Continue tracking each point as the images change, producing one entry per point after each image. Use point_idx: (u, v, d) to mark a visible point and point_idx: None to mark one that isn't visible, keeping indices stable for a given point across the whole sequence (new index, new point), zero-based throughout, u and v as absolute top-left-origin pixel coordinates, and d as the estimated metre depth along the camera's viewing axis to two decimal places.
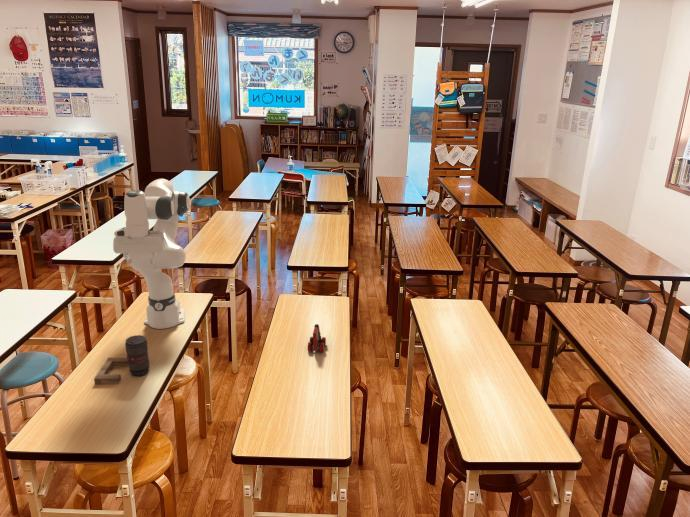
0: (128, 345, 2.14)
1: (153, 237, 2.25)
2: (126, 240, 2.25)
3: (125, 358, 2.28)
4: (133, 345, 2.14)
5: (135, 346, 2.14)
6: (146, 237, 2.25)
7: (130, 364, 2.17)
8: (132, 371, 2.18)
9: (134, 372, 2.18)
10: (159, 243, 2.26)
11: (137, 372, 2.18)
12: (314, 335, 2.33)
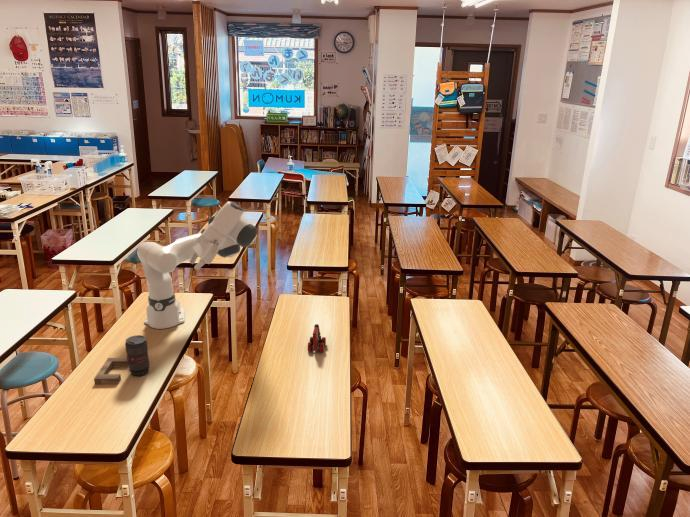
0: (128, 345, 2.14)
1: (210, 244, 2.13)
2: (202, 240, 2.22)
3: (125, 358, 2.28)
4: (133, 345, 2.14)
5: (135, 346, 2.14)
6: (208, 242, 2.15)
7: (130, 364, 2.17)
8: (132, 371, 2.18)
9: (134, 372, 2.18)
10: (208, 250, 2.11)
11: (137, 372, 2.18)
12: (314, 335, 2.33)
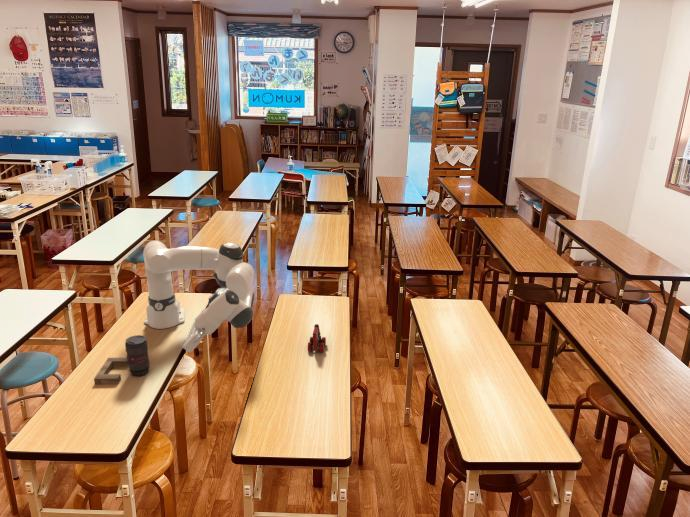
0: (128, 345, 2.14)
1: (195, 332, 2.10)
2: None
3: (125, 358, 2.28)
4: (133, 345, 2.14)
5: (135, 346, 2.14)
6: (196, 329, 2.13)
7: (130, 364, 2.17)
8: (132, 371, 2.18)
9: (134, 372, 2.18)
10: (190, 339, 2.08)
11: (137, 372, 2.18)
12: (314, 335, 2.33)
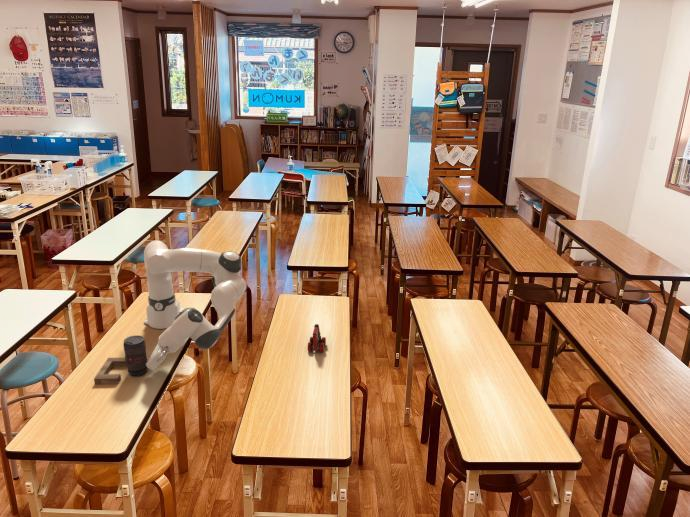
0: (126, 345, 2.14)
1: (158, 350, 2.12)
2: None
3: None
4: (131, 345, 2.14)
5: (133, 347, 2.14)
6: (160, 347, 2.14)
7: (128, 364, 2.17)
8: (130, 371, 2.18)
9: (132, 372, 2.18)
10: (152, 357, 2.10)
11: (135, 372, 2.18)
12: (314, 335, 2.33)
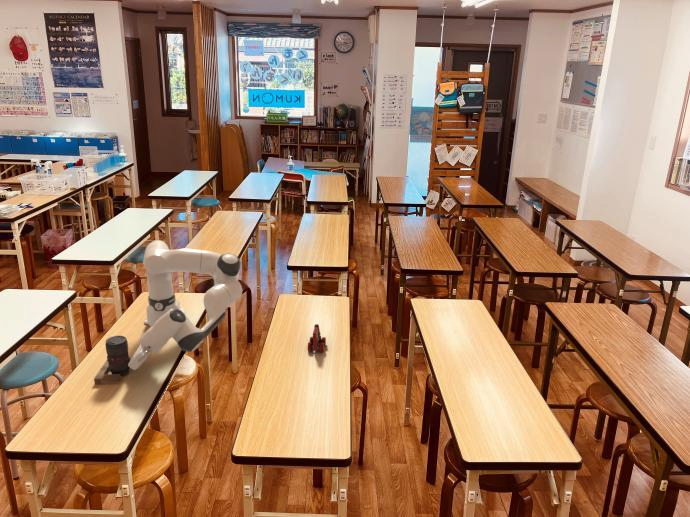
0: (108, 345, 2.14)
1: (140, 350, 2.12)
2: None
3: None
4: (113, 345, 2.14)
5: (115, 347, 2.14)
6: (142, 347, 2.14)
7: (110, 364, 2.17)
8: (112, 371, 2.18)
9: (114, 372, 2.18)
10: (134, 357, 2.10)
11: (117, 372, 2.18)
12: (314, 335, 2.33)
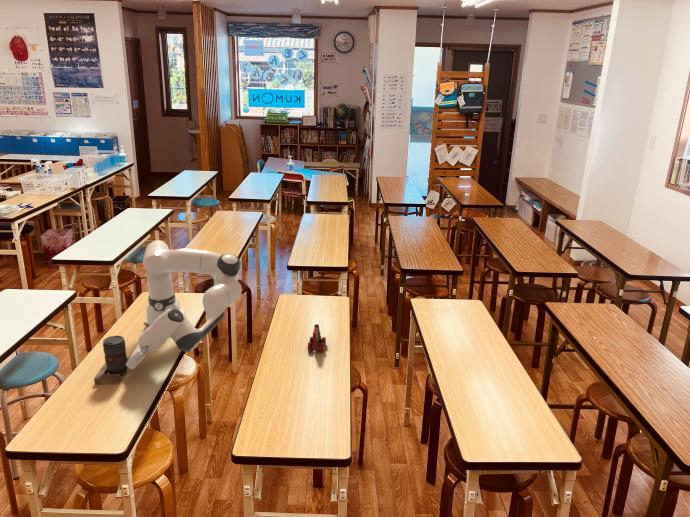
0: (105, 345, 2.14)
1: (138, 350, 2.12)
2: None
3: None
4: (110, 345, 2.14)
5: (113, 347, 2.14)
6: (140, 346, 2.14)
7: (108, 364, 2.17)
8: (110, 371, 2.18)
9: (112, 372, 2.18)
10: (132, 357, 2.10)
11: (115, 372, 2.18)
12: (314, 335, 2.33)
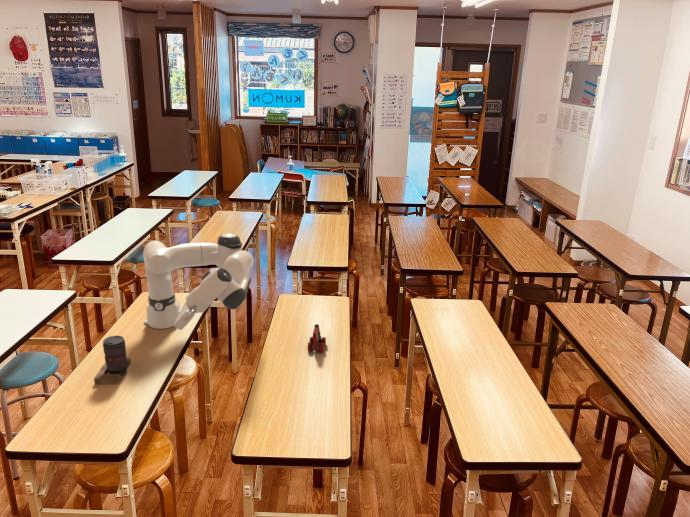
0: (105, 345, 2.14)
1: (186, 310, 2.07)
2: None
3: None
4: (110, 345, 2.14)
5: (113, 347, 2.14)
6: (187, 306, 2.10)
7: (108, 364, 2.17)
8: (110, 371, 2.18)
9: (112, 372, 2.18)
10: (180, 316, 2.05)
11: (115, 372, 2.18)
12: (314, 335, 2.33)
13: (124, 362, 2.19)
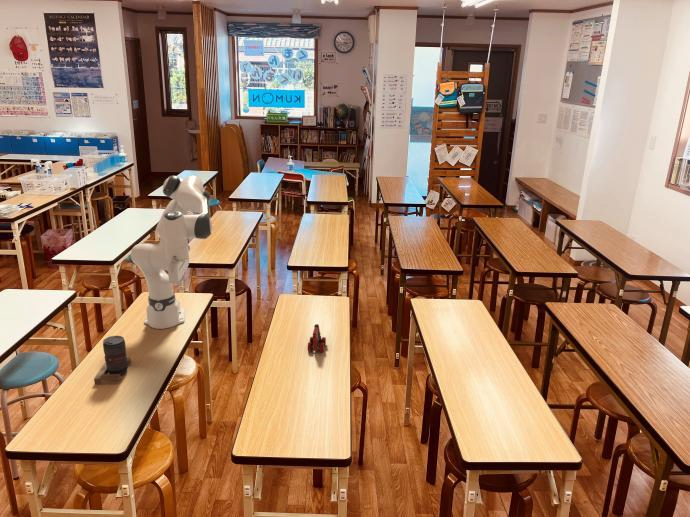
0: (105, 345, 2.14)
1: (169, 264, 2.13)
2: None
3: None
4: (110, 345, 2.14)
5: (113, 347, 2.14)
6: None
7: (108, 364, 2.17)
8: (110, 371, 2.18)
9: (112, 372, 2.18)
10: None
11: (115, 372, 2.18)
12: (314, 335, 2.33)
13: (124, 362, 2.19)
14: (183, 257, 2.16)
